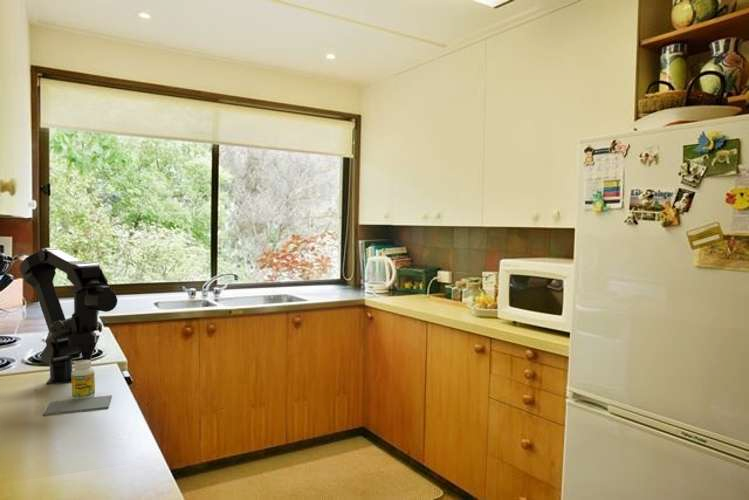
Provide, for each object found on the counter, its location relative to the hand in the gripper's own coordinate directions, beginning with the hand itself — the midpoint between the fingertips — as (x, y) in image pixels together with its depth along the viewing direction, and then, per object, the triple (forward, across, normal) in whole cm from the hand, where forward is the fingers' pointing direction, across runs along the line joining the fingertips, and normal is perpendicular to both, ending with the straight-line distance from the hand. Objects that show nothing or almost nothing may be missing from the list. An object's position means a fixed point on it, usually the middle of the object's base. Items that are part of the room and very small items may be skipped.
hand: (86, 363), depth 142 cm
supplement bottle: (+7, +8, 0) cm, 11 cm away
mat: (+7, +15, 0) cm, 17 cm away
